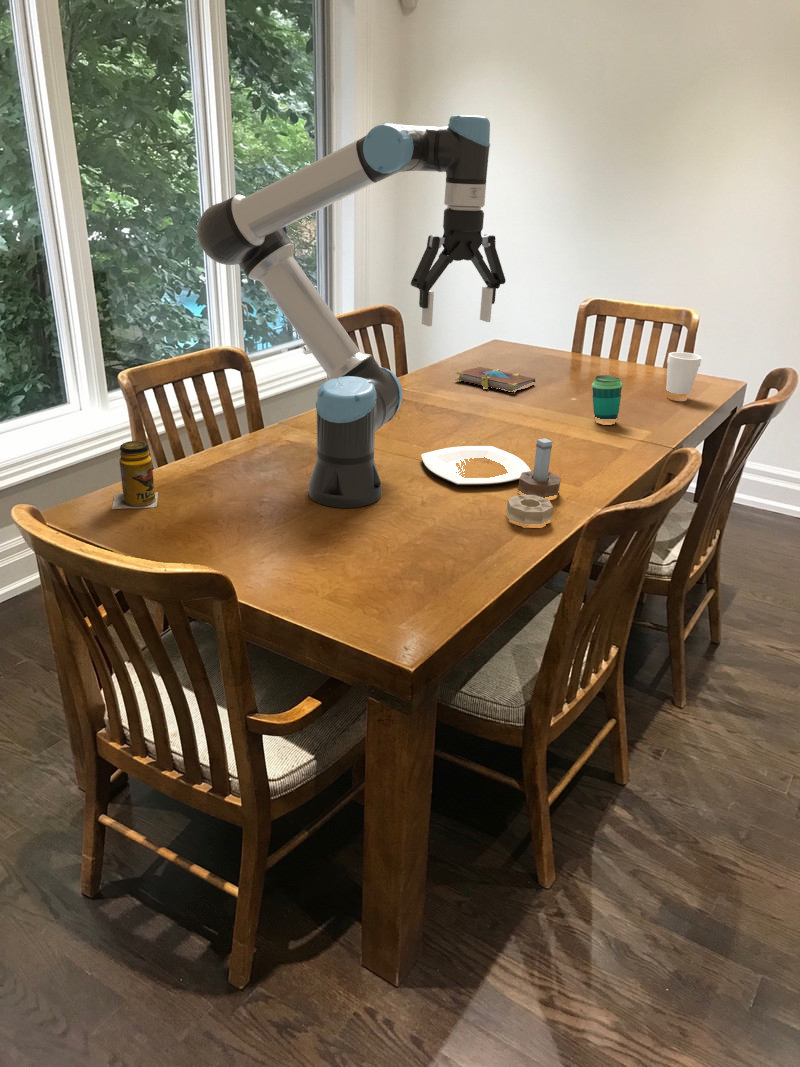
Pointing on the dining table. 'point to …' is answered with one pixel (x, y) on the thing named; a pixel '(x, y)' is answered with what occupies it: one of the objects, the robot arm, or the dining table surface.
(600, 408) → the cup
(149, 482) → the condiment
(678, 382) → the foam cup
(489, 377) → the book
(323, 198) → the robot arm
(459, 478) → the plate
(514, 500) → the maple bead
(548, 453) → the long pale blue brick
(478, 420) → the dining table surface
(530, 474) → the walnut bead
